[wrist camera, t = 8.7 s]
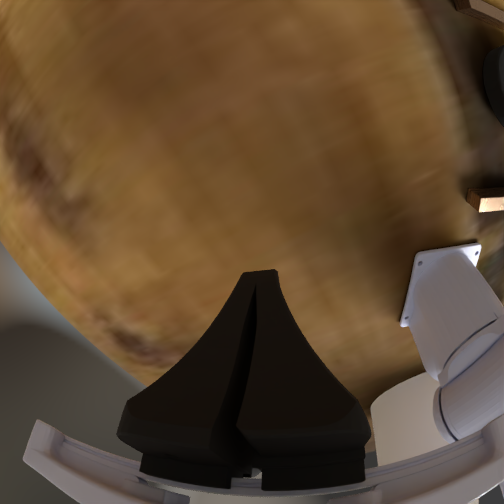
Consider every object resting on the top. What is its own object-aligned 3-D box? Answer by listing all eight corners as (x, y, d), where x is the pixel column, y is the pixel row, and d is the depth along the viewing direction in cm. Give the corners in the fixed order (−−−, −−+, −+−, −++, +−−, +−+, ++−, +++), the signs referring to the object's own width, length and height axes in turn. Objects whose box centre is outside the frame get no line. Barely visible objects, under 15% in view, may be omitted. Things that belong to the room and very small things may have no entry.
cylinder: (434, 404, 40) (453, 515, 17) (360, 420, 42) (368, 546, 19) (473, 358, 30) (511, 500, 7) (386, 379, 32) (407, 555, 9)
